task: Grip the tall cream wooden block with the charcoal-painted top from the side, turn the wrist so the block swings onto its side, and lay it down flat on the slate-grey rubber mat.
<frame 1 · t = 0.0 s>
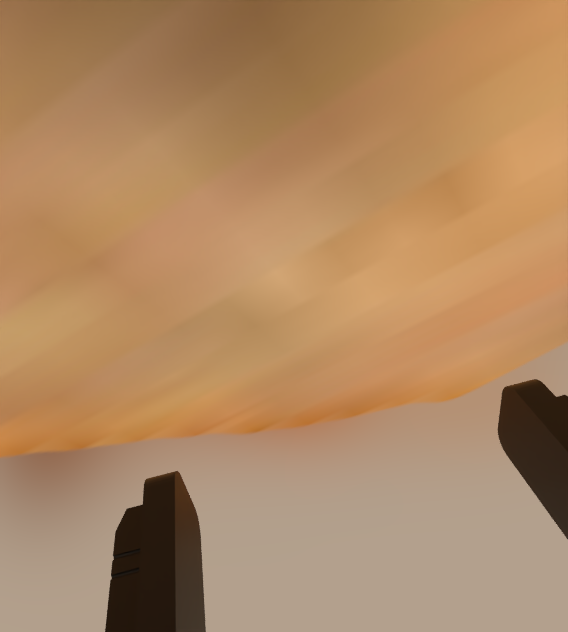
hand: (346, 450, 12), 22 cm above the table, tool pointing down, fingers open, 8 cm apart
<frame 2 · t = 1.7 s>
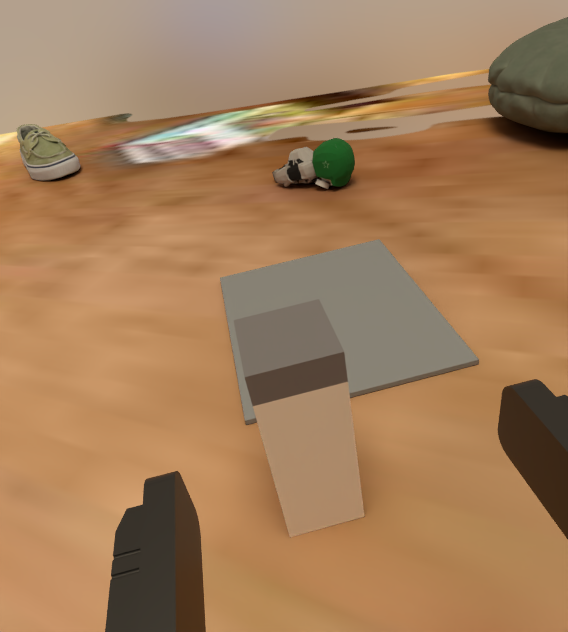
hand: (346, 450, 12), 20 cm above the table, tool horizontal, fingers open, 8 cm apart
boat shoe: (49, 170, 116), on the table
slate mat: (326, 315, 51), on the table
toy: (315, 185, 81), on the table
cream block: (317, 494, 34), on the table
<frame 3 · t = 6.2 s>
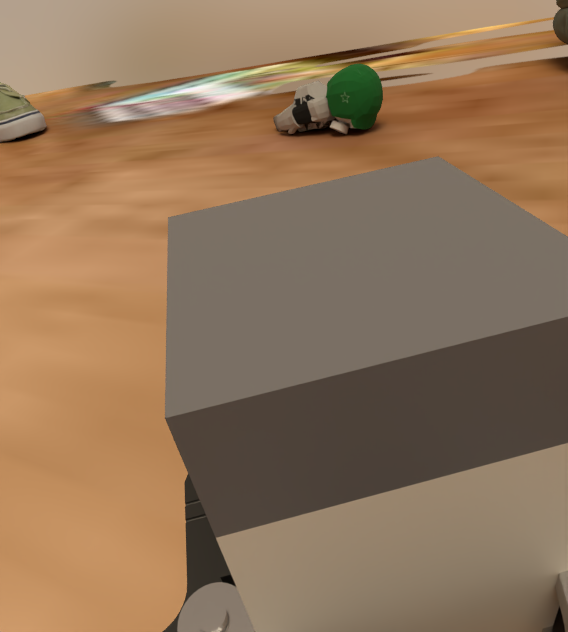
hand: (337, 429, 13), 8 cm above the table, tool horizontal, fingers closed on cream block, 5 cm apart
boat shoe: (11, 133, 98), on the table
toy: (328, 132, 63), on the table
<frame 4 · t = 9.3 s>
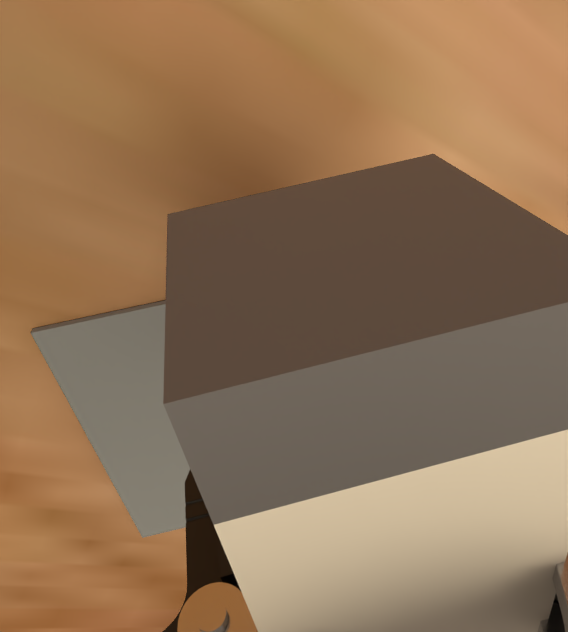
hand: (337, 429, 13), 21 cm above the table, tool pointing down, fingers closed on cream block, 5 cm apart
slate mat: (220, 419, 40), on the table
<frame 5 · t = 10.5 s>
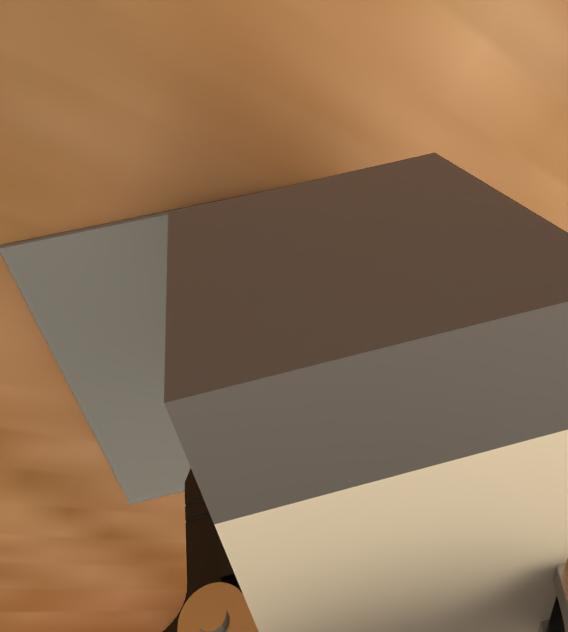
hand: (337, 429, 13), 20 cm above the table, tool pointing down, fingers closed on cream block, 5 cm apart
slate mat: (216, 364, 36), on the table
when the fingers open (2 cm above the table, at t = 15.0 s): cream block drops 1 cm, resting on slate mat.
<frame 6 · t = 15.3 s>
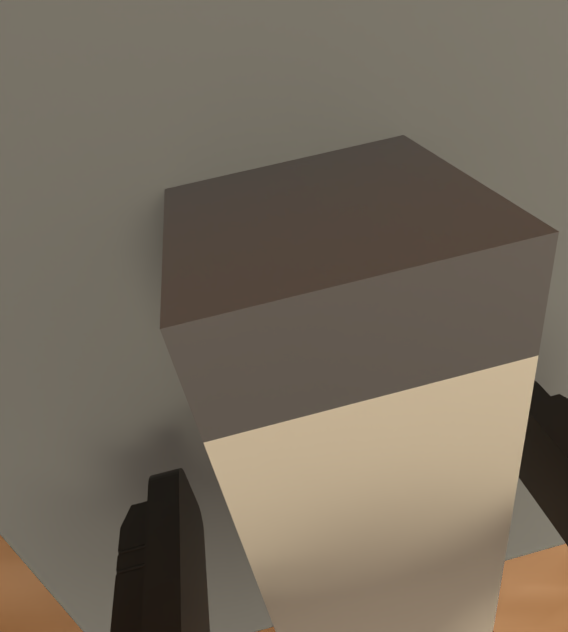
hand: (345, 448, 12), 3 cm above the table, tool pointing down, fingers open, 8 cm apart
slate mat: (319, 381, 14), on the table
cream block: (370, 613, 16), point 3 cm above the table, tilted 90°, touching slate mat
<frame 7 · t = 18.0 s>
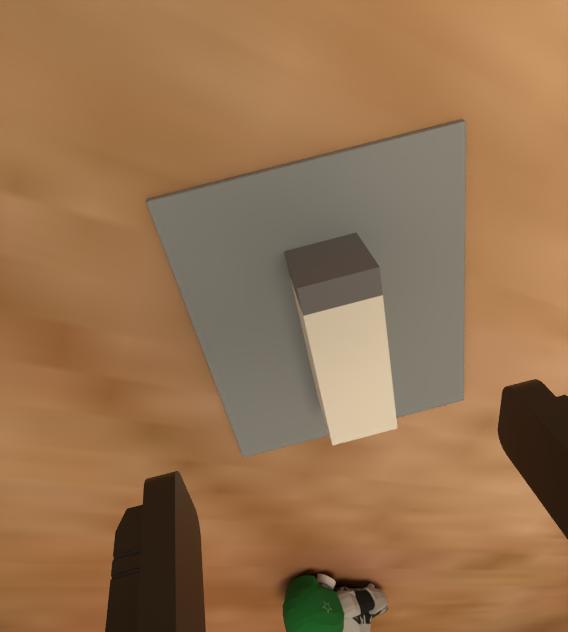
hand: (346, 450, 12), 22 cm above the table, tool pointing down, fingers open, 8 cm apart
slate mat: (333, 315, 37), on the table
toy: (331, 584, 59), on the table
cream block: (355, 413, 39), point 3 cm above the table, tilted 90°, touching slate mat
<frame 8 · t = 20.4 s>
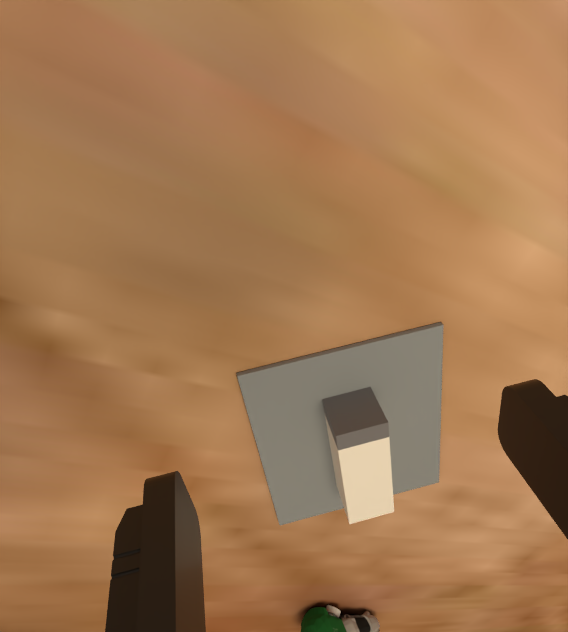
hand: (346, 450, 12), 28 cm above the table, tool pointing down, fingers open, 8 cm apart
slate mat: (350, 433, 54), on the table
toy: (336, 612, 75), on the table
cream block: (364, 498, 55), point 3 cm above the table, tilted 90°, touching slate mat
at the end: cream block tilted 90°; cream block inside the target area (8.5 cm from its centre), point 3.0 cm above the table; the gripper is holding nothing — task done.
